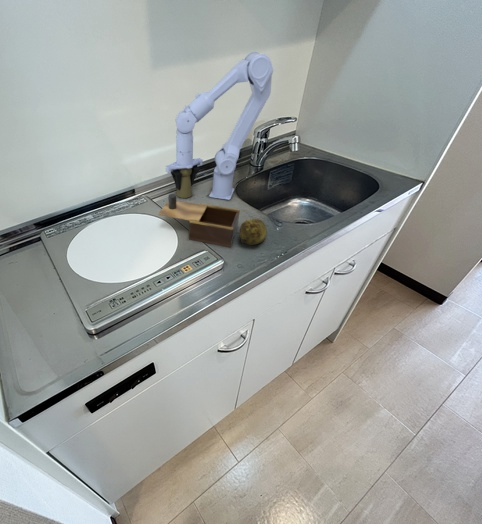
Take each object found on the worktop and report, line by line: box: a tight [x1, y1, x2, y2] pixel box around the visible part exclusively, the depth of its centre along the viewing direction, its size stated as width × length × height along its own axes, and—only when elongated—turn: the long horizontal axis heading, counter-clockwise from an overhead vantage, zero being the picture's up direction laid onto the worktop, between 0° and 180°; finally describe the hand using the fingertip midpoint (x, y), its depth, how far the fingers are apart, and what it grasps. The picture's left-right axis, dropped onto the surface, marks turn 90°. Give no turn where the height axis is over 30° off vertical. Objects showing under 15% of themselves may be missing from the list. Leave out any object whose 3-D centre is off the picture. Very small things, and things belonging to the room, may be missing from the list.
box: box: [188, 203, 241, 248], centre depth 85 cm, size 11×13×6 cm
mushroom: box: [175, 168, 193, 199], centre depth 103 cm, size 6×6×11 cm
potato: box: [239, 218, 268, 246], centre depth 81 cm, size 8×13×8 cm, turn 132°
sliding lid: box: [158, 193, 208, 222], centre depth 84 cm, size 9×13×5 cm
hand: (184, 187), depth 105 cm, fingers closed on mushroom, 5 cm apart
